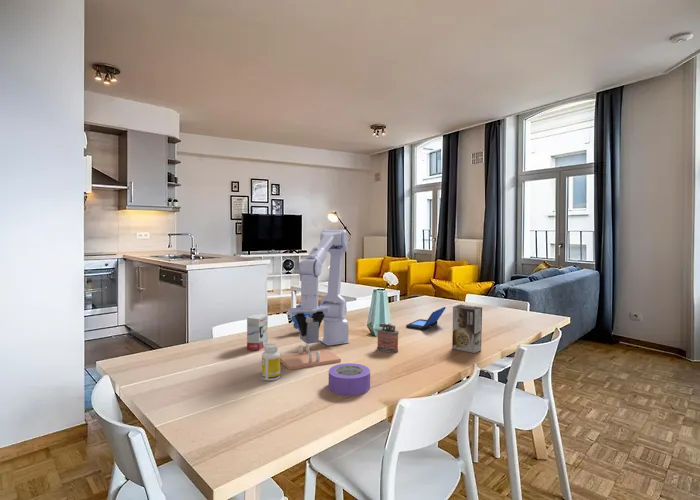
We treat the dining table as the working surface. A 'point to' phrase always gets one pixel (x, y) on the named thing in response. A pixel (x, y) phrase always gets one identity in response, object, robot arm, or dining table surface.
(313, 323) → the grey rectangular block
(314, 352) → the pin tray
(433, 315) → the handheld game console
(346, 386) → the tape roll
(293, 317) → the grapes
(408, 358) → the dining table surface
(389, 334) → the lighter
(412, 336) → the dining table surface
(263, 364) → the supplement bottle
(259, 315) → the ink box
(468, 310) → the coffee box
